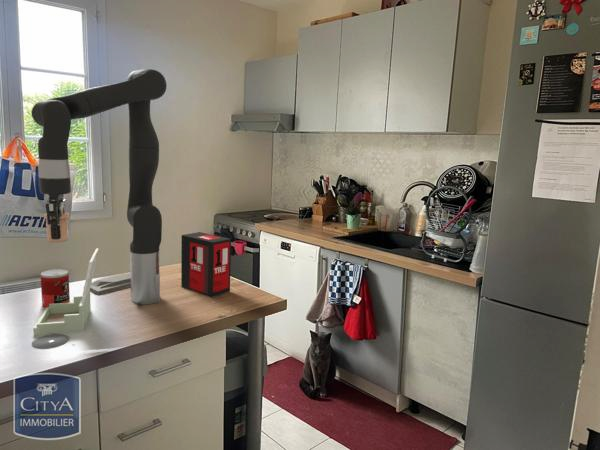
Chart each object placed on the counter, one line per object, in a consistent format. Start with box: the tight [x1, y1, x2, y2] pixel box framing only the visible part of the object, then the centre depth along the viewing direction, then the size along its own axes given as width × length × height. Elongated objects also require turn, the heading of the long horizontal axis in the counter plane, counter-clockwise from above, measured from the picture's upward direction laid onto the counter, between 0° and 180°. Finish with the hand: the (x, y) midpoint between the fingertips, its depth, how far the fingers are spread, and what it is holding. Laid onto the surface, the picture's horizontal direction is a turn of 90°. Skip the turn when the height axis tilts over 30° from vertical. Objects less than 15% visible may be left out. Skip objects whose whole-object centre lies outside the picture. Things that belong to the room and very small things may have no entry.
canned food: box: [40, 268, 71, 309], centre depth 139 cm, size 8×8×11 cm
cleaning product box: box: [180, 231, 232, 298], centre depth 161 cm, size 16×9×20 cm, turn 54°
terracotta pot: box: [43, 212, 70, 244], centre depth 122 cm, size 6×6×9 cm
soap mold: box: [83, 273, 131, 296], centre depth 162 cm, size 10×20×4 cm, turn 144°
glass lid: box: [81, 248, 99, 304], centre depth 127 cm, size 12×16×1 cm
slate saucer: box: [31, 333, 70, 350], centre depth 114 cm, size 8×8×1 cm
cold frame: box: [33, 289, 92, 336], centre depth 126 cm, size 12×16×8 cm
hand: (58, 236), depth 122 cm, fingers closed on terracotta pot, 5 cm apart
